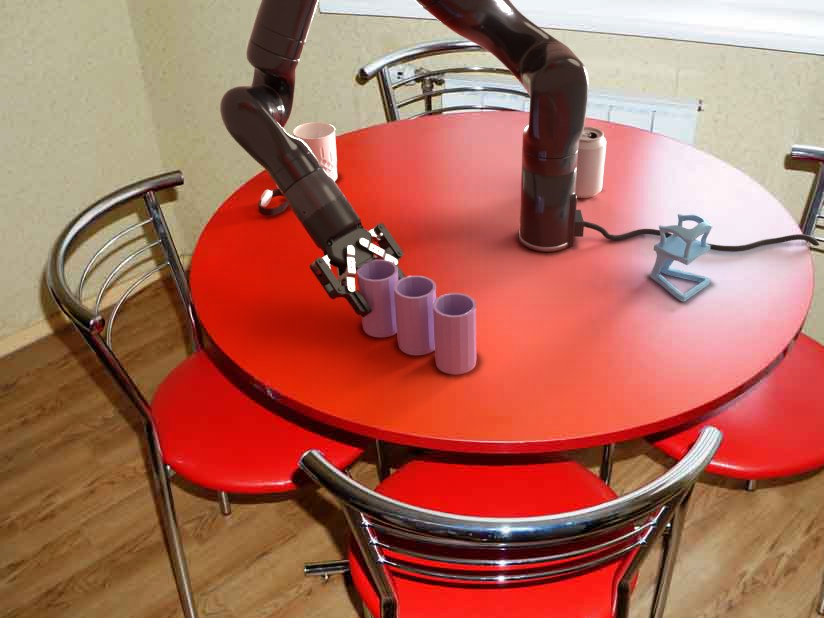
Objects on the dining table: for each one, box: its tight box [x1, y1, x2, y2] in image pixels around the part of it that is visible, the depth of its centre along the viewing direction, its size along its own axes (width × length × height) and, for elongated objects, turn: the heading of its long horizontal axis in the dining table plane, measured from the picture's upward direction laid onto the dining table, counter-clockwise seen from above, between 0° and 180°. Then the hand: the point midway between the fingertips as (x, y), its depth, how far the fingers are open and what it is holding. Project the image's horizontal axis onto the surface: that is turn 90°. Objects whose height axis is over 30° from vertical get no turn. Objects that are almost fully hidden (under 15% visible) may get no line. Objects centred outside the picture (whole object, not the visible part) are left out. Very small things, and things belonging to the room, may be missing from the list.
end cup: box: [356, 259, 399, 338], centre depth 126 cm, size 6×6×10 cm
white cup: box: [292, 121, 338, 182], centre depth 164 cm, size 8×8×10 cm
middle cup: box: [394, 274, 437, 356], centre depth 123 cm, size 6×6×10 cm
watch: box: [257, 187, 289, 217], centre depth 157 cm, size 8×5×4 cm, turn 159°
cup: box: [433, 292, 477, 376], centre depth 120 cm, size 6×6×10 cm
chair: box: [649, 213, 713, 303], centre depth 136 cm, size 8×8×12 cm
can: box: [575, 125, 607, 199], centre depth 161 cm, size 8×8×12 cm
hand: (386, 302), depth 126 cm, fingers open, 7 cm apart
